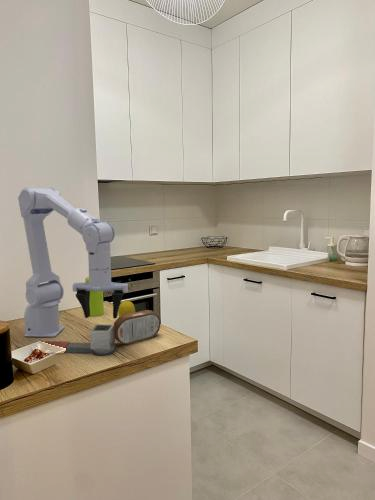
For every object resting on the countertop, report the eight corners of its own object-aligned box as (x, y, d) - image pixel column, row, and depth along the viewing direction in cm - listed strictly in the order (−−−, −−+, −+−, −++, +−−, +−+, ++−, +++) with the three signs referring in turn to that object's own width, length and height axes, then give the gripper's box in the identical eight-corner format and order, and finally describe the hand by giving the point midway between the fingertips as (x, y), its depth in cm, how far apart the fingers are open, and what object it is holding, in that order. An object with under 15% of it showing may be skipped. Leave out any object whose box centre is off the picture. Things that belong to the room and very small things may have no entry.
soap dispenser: (93, 318, 126) (91, 261, 123) (83, 313, 131) (81, 258, 128) (108, 314, 130) (106, 259, 127) (98, 310, 135) (96, 256, 132)
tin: (156, 333, 113) (156, 306, 112) (162, 336, 111) (162, 309, 109) (111, 345, 104) (110, 316, 103) (116, 348, 102) (115, 319, 100)
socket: (90, 349, 97) (90, 331, 96) (96, 341, 102) (95, 324, 101) (110, 349, 97) (109, 331, 96) (114, 341, 102) (114, 324, 101)
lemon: (132, 326, 118) (131, 302, 117) (116, 325, 119) (115, 301, 118) (137, 321, 124) (137, 298, 122) (122, 320, 125) (121, 297, 123)
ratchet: (33, 355, 98) (32, 339, 97) (43, 346, 103) (42, 331, 103) (112, 356, 97) (111, 341, 96) (117, 347, 103) (116, 332, 102)
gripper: (67, 270, 94) (69, 321, 96) (123, 271, 93) (124, 322, 95) (76, 265, 101) (78, 312, 103) (129, 266, 100) (130, 313, 102)
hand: (101, 317), depth 100 cm, fingers open, 7 cm apart
